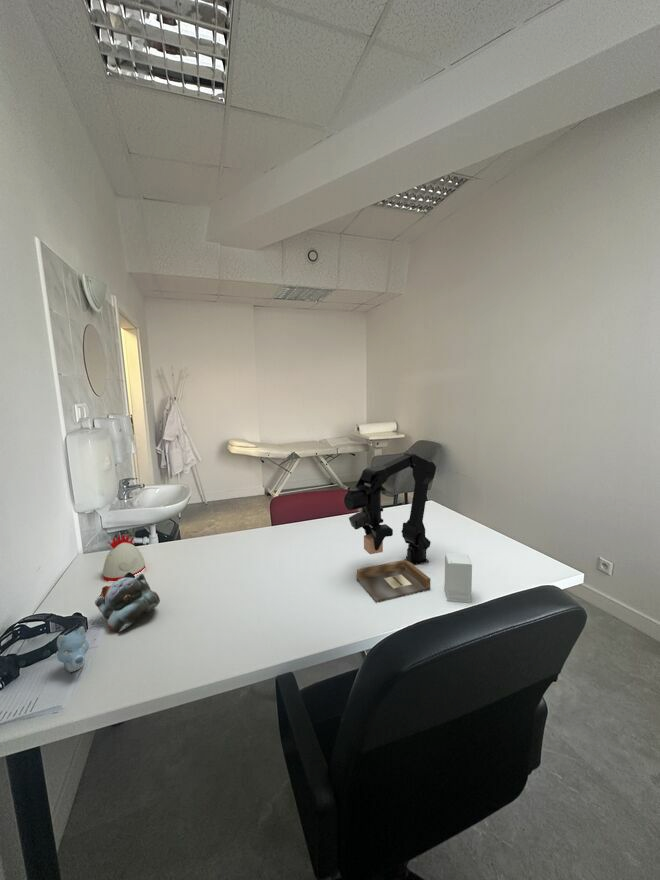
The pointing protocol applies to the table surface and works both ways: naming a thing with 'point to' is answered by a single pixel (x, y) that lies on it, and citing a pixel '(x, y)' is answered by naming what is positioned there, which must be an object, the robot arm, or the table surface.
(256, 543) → the table surface
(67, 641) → the wolf head
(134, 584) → the lucky cat figurine
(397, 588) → the arena
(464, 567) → the supplement box
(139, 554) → the kitchen timer
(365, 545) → the terracotta block
